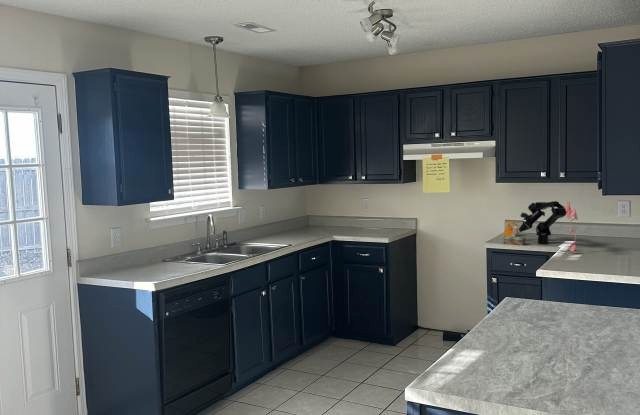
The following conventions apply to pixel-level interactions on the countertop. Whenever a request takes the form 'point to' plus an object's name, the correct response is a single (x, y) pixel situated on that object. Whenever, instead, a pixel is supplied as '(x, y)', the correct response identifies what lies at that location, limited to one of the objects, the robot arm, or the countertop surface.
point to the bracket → (509, 229)
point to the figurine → (570, 215)
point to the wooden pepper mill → (515, 230)
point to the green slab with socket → (514, 240)
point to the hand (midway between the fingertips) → (519, 230)
